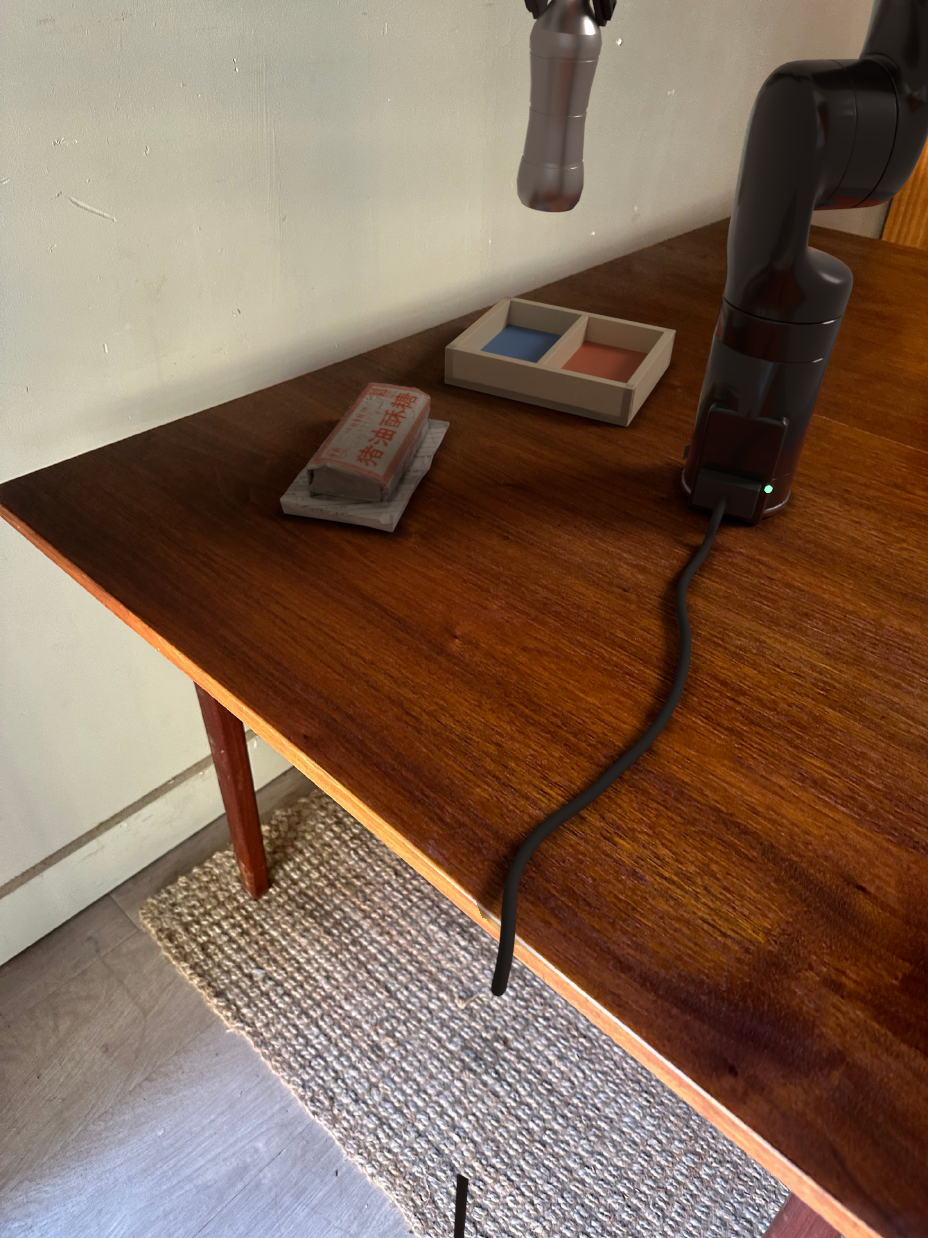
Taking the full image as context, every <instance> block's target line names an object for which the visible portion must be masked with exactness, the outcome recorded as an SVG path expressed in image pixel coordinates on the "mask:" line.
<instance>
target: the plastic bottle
mask: <svg viewBox="0 0 928 1238" xmlns="http://www.w3.org/2000/svg"><path fill="white" fill-rule="evenodd" d="M535 20H536V21H535V22H534V23H533V26H532V28H531V32H530V34H529V45H528V46H529V76H530V80H529V82H530V86H529V104H530V105H529V108H528V111H529V112H528V121H527V127H526V133H525V140H524V145H523V152H522V154H523V155H521V158H520V161H519V164H518V169H517V174H516V178H515V181H516V195H517V197H518V199H519V201H520V203H521V204H522V205H523V206H524V207H526V208H528V209H531V210H535V211H539V212H543V213H544V212H545V213H565V212H570V211H572V210H573V209H574V208H575V207H576V206H577V205H578V204H579V202H580V200H581V197H582V195H583V194H582V193H583V190H584V188H585V187H584V186H585V167H584V166H585V165H584V161H583V159H584V148H585V147H584V145H585V127H586V121H587V120H586V119H587V115H588V112H587V109H588V107H589V103H590V97H591V91H592V87H593V84H594V80H595V79H594V78H595V75H596V72H597V68H598V64H599V60H600V58H599V57H600V56H601V51H602V46H603V39H602V31H601V26H599V25H598V22H597V20H596V19H595V14H594V8H593V6H592V5H591V0H550V1H548V5H547V6H546V8H545V9H544V10H543V11H542V13H541V14H540V16H539V17H538V19H535Z"/></svg>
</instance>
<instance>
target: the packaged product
mask: <svg viewBox="0 0 928 1238" xmlns="http://www.w3.org/2000/svg"><path fill="white" fill-rule="evenodd" d="M431 403H432V402H431V396H430V394H428V393H426V392H424V391H422V390H421V389H419V388H417V387H414V386H412V387H409V386H404V385H397V384H391V383H381V382H372V381H371V382H368V383H367V385H366V386H365V388H364V389H362V391H361V392H360V394H359V395H358V396H357V397H356V399H355V401H354V402H353V403H352V404H351V405H350V406H349V407H348V409H347V411H345V413H344V415H343V416H342V417H341V418H340V420H339V422H338V423H337V424H336V425H335V426H334V428H333V429H332V431H331V432H330V433H329V434H328V436H327V437H326V438H325V440H323V442H322V443H321V445H320V446H319V448H318V449H317V450H316V451H315V452H314V454H313V455H312V456H311V458H310V459H309V460H308V462H307V464H306V465H305V467H304V468H303V469H301V471H300V472H299V473H298V474H297V476H296V477H295V479H294V480H293V482H292V483H291V484H290V485H289V487H287V490H286V491H285V492H284V494H283V495H282V496H281V497H280V498H279V502H280V505H281V509H282V511H283V514H287V515H293V516H298V517H299V516H300V517H306V518H314V519H321V520H325V521H326V520H327V521H331V522H332V521H333V522H340V523H346V524H353V525H358V526H365V527H368V528H373V529H377V530H381V531H384V532H385V531H386V532H389V533H393V532H394V530H395V529H396V527H397V525H398V522H399V521H400V519H401V517H402V515H403V513H404V511H405V509H406V507H407V505H408V504H409V502H410V499H411V497H412V495H413V494H414V492H415V491H416V489H417V487H418V486H419V484H420V482H421V481H422V479H423V478H424V476H426V474H427V473H428V471H429V470H430V469H431V465H432V462H433V458H434V455H435V453H436V451H437V450H438V448H439V447H440V445H441V443H442V441H443V439H444V437H445V435H446V433H447V431H448V429H449V427H450V425H451V423H450V421H445V420H439V419H435V418H434V419H433V418H429V415H430V411H431Z"/></svg>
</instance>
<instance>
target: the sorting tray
mask: <svg viewBox="0 0 928 1238" xmlns="http://www.w3.org/2000/svg"><path fill="white" fill-rule="evenodd" d="M676 332H677V330H675V329H672V328H666V327H661V326H656V325H652V324H646V323H642V322H637V321H632V320H627V319H622V318H617V317H612V316H607V315H603V314H597V313H592V312H588V311H582V310H577V309H572V308H568V307H563V306H558V305H555V304H554V305H553V304H549V303H545V302H544V303H543V302H540V301H539V302H538V301H533V300H529V299H528V300H527V299H523V298H520V297H514V296H509V295H504V297H503V298H502V299H500V300H499V301H498V302H497V303H496V304H494V305H493V306H492V307H491V308H490V309H489V310H488V311H486V312H485V313H484V314H483V315H482V316H480V317H479V318H478V319H477V320H476V321H475V322H473V323H472V324H471V325H470V326H468V328H466V329H465V330H464V331H463V332H461V333H460V334H459V335H458V336H457V337H456V338H454V339H453V340H452V341H451V342H450V343H448V344H447V345H445V347H444V348H445V349H444V350H445V351H444V353H445V355H444V384H447V385H450V386H454V387H459V388H463V389H467V390H471V391H476V392H480V393H484V394H489V395H492V396H496V397H501V398H506V399H509V400H514V401H517V402H522V403H526V404H530V405H535V406H538V407H543V408H546V409H550V410H555V411H559V412H564V413H568V414H571V415H576V416H580V417H584V418H589V419H593V420H596V421H601V422H605V423H610V424H613V425H617V426H622V427H628V426H629V425H630V423H631V422H632V421H633V419H634V417H635V416H636V414H637V413H638V411H639V410H640V408H641V407H642V405H644V403H645V401H646V400H647V398H648V397H649V395H650V394H651V392H652V391H653V390H654V388H655V386H656V385H657V383H658V382H659V381H660V379H661V378H662V377H663V375H664V374H665V372H666V370H667V369H668V368H669V366H670V363H671V358H672V353H673V348H674V343H675V338H676Z"/></svg>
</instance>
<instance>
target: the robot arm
mask: <svg viewBox="0 0 928 1238" xmlns="http://www.w3.org/2000/svg"><path fill="white" fill-rule="evenodd" d="M523 2H524V6H525V8H526V10H527V11H528V13H530V14H532V18H533V20H537V19H538V17H539V16H540V14H541V13H542V11H543V10H544V9H545V8H546V6H547V5H548V4H549V0H523ZM591 2H592V9H593V11H594V14H595V19H596V20H597V22H598V25H599V27H600V28H601V27H602V28H605V27H607V23H608V22H611V20H612V17H613V15H614V12H615V9H616V6H617V5H618V4H617V3H618V0H591ZM858 56H859V57H858V58H825V59H823V58H820V59H819V58H818V59H817V58H816V59H798V60H793V61H787V62H784V63H783V64H780V65H779V66H777V67H776V68H775V69H774V70H773V71H772V72H771V73H769V75H768V76H767V77H766V78H765V80H764V82H763V83H762V85H761V86H760V89H759V90H758V92H757V93H756V96H755V99H754V101H753V103H752V106H751V109H750V112H749V116H748V119H747V124H746V127H745V132H744V135H743V142H742V147H741V152H740V159H739V165H738V172H737V178H736V185H735V192H734V198H733V203H732V209H731V215H730V221H729V226H728V232H727V238H726V239H727V240H726V257H725V258H726V272H725V273H726V275H725V280H724V286H723V290H722V295H721V300H720V305H719V308H718V314H717V318H716V323H715V327H714V330H713V335H712V340H711V344H710V349H709V354H708V359H707V363H706V368H705V371H704V377H703V382H702V386H701V390H700V394H699V395H700V396H699V400H698V404H697V409H696V412H695V418H694V423H693V426H692V433H691V437H690V441H689V444H687V445H685V447H684V451H683V456H682V461H684V460H685V459H686V460H685V465H684V468H683V470H682V472H681V476H680V477H681V478H680V488H681V491H682V493H683V494H684V496H686V498H687V499H688V502H687V507H689V508H692V509H696V510H699V511H703V512H707V513H710V514H712V515H711V517H710V520H709V523H708V526H707V529H706V532H705V535H704V537H703V540H702V543H701V544H700V547H699V548H698V550H697V552H696V554H695V555H694V556H693V558H692V559H691V561H690V562H689V564H688V565H687V566H686V567H685V569H684V570H683V572H682V573H681V576H680V577H679V580H678V582H677V586H676V591H675V599H674V601H675V602H674V604H675V614H676V619H677V625H678V629H679V644H680V645H679V654H678V660H677V665H676V671H675V674H674V675H675V676H674V680H673V682H672V686H671V687H670V691H669V693H668V695H667V698H666V700H665V702H664V704H663V705H662V708H661V709H660V711H659V712H658V714H657V716H656V717H655V719H654V720H653V722H652V723H651V725H650V726H649V727H648V728H647V729H646V731H645V732H644V733H643V735H642V736H641V737H640V738H639V739H638V740H637V741H636V742H635V743H634V744H633V745H632V746H631V747H629V749H628V750H627V751H626V752H625V753H624V754H623V755H622V756H621V757H620V758H618V760H616V761H615V762H614V763H613V764H612V765H611V766H610V767H609V768H608V769H607V770H606V771H605V772H603V774H601V776H599V777H598V778H597V779H596V780H595V781H594V782H593V783H592V784H591V785H589V787H588V788H586V789H585V790H584V791H583V792H581V793H580V794H578V795H577V796H576V797H575V798H573V799H572V800H570V801H569V802H567V803H566V804H564V805H563V806H562V807H560V808H559V809H558V810H556V811H555V812H554V813H552V814H551V815H549V816H548V817H547V818H546V819H544V820H542V822H541V823H539V825H538V826H536V827H535V828H534V829H533V830H532V832H530V833H529V835H528V836H527V837H526V839H525V840H524V841H523V843H522V844H521V845H520V847H519V849H518V850H517V852H516V854H515V855H514V857H513V859H512V861H511V863H510V865H509V868H508V871H507V874H506V877H505V881H504V885H503V890H502V891H503V892H502V898H501V909H500V911H501V912H500V928H499V932H500V933H499V941H498V949H497V955H496V961H495V962H496V963H495V966H494V971H493V975H492V980H491V984H490V992H491V994H492V995H493V996H494V997H497V998H498V997H501V996H503V995H504V994H505V993H506V991H507V987H508V983H509V978H510V975H511V970H512V964H513V959H514V951H515V944H516V931H517V930H516V929H517V928H516V927H517V907H518V905H517V904H518V893H519V887H520V883H521V879H522V876H523V873H524V870H525V869H526V867H527V864H528V862H529V861H530V859H531V858H532V856H533V854H534V853H535V852H536V850H537V849H538V847H539V846H540V845H541V844H542V843H543V842H544V841H545V840H546V839H547V838H548V837H549V836H550V835H551V834H552V833H553V832H554V831H556V830H557V829H558V828H559V827H561V826H562V825H563V824H564V823H566V822H567V821H569V820H570V819H572V818H573V817H575V816H576V815H577V814H579V812H582V811H583V810H584V809H586V808H587V807H588V806H589V805H591V804H592V803H593V802H594V801H595V800H597V799H598V798H599V797H600V796H601V795H603V793H604V792H606V791H607V790H608V789H609V788H610V787H611V786H612V785H613V784H614V783H615V782H616V781H617V780H618V779H619V778H620V777H621V776H623V774H624V773H625V772H626V771H627V770H629V768H631V767H632V766H633V765H634V764H635V763H636V762H637V761H638V760H639V759H640V758H641V757H642V756H643V755H644V754H645V753H646V752H647V751H648V749H649V748H650V747H651V746H652V745H653V744H654V742H655V741H656V740H657V739H658V737H659V736H660V735H661V733H663V730H664V729H665V727H666V726H667V724H668V722H669V721H670V719H671V718H672V716H673V714H674V711H675V710H676V708H677V706H678V704H679V701H680V699H681V696H682V694H683V692H684V689H685V685H686V683H687V678H688V674H689V668H690V663H691V657H692V655H691V654H692V643H693V642H692V641H693V640H692V639H693V638H692V631H691V624H690V620H689V615H688V614H689V613H688V610H687V609H688V608H687V593H688V588H689V584H690V581H691V579H692V578H693V577H694V575H695V574H696V572H697V571H698V570H699V569H700V567H701V565H703V563H704V561H705V559H706V558H707V556H708V554H709V552H710V551H711V548H712V545H713V543H714V540H715V538H716V535H717V532H718V528H719V526H720V523H721V520H722V518H723V517H726V518H730V519H734V520H736V521H737V520H738V521H741V522H745V523H748V524H753V525H760V523H761V521H762V519H765V518H769V517H772V516H775V515H777V514H779V513H780V512H782V511H783V510H784V509H785V508H786V506H787V504H788V503H789V499H790V496H791V488H792V485H793V482H794V478H795V475H796V472H797V469H798V466H799V461H800V459H801V455H802V452H803V448H804V447H805V443H806V439H807V437H808V433H809V429H810V426H811V424H812V421H813V418H814V417H813V416H814V413H815V410H816V408H817V407H816V406H817V403H818V401H819V397H820V395H821V390H822V387H823V384H824V381H825V378H826V374H827V371H828V369H829V365H830V362H831V358H832V355H833V352H834V350H835V346H836V343H837V340H838V337H839V334H840V331H841V327H842V324H843V321H844V317H845V314H846V311H847V307H848V304H849V302H850V297H851V294H852V290H853V286H854V275H853V274H854V273H853V271H852V270H851V268H850V267H849V266H848V265H847V264H846V263H845V262H844V261H842V260H841V259H839V258H837V257H836V256H833V255H832V254H830V253H828V252H825V251H822V250H820V249H817V248H815V247H812V246H809V237H810V232H811V231H810V230H811V226H812V225H811V224H812V219H813V214H814V212H816V211H818V212H819V211H835V210H837V211H838V210H851V209H852V210H853V209H865V208H871V207H876V206H881V205H883V204H885V203H887V202H888V201H890V200H891V199H893V198H894V197H895V196H896V195H897V194H898V193H899V192H900V191H901V190H902V189H903V188H904V186H905V185H906V184H907V182H908V181H909V179H910V178H911V176H912V175H913V173H914V171H915V169H916V167H917V165H918V163H919V160H920V159H921V156H922V154H923V151H924V148H925V146H926V143H927V140H928V0H873V1H872V6H871V11H870V15H869V22H868V25H867V29H866V34H865V37H864V41H863V44H862V48H861V51H860V54H859V55H858ZM469 1183H470V1180H469V1178H468V1177H467V1176H464V1175H463V1174H460V1173H459V1172H457V1173H456V1183H455V1185H456V1187H455V1200H454V1201H455V1204H454V1205H455V1206H454V1223H453V1238H465V1235H466V1234H465V1233H466V1220H467V1207H468V1206H467V1205H468V1195H469V1194H468V1193H469Z"/></svg>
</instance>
